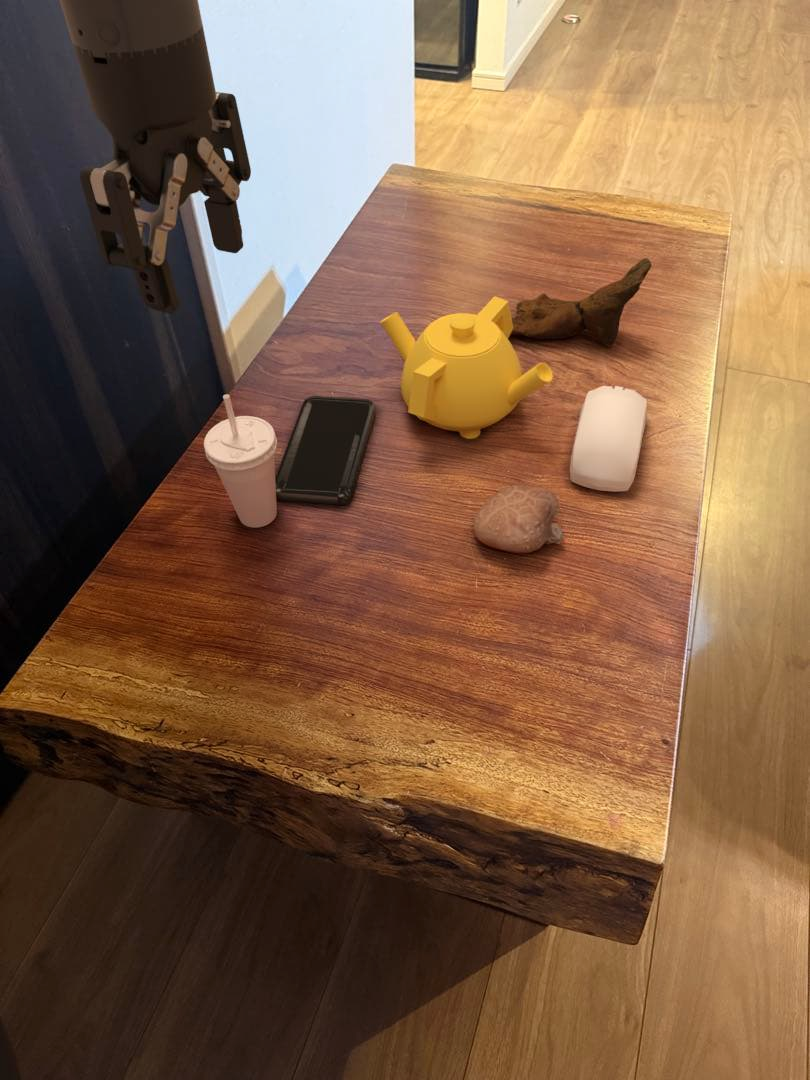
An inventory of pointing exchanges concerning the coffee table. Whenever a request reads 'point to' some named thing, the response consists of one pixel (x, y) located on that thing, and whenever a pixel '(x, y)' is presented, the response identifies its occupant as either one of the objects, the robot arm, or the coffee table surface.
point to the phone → (325, 450)
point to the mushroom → (518, 519)
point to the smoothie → (245, 465)
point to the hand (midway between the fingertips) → (198, 278)
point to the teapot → (464, 369)
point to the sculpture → (580, 310)
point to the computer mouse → (608, 439)
